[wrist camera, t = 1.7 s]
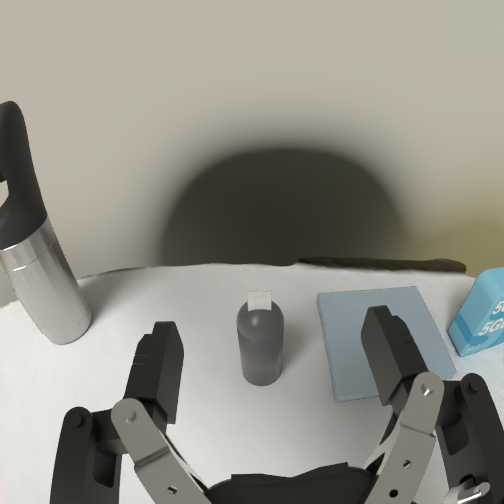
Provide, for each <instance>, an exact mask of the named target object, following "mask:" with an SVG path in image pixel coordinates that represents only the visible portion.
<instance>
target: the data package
mask: <svg viewBox="0 0 504 504" xmlns="http://www.w3.org/2000/svg"><path fill="white" fill-rule="evenodd" d="M448 333H449V335H450V337H451V339H452V341H453V343H454V345H455V347H456V349H457V351H458V353H459V355H460V356H461V357H464V356H467V355H470V354H473V353H476V352H479V351H481V350H484V349H487V348H489V347H492V346H494V345H497V344H499V343H502V342H503V341H504V267H500V268H494V269H487V270H485V271H483V272H482V273H481V274H480V275H479V276H478V277H477V279H476V280H475V282H474V284H473V286H472V288H471V290H470V292H469V294H468V296H467V298H466V300H465V302H464V304H463V305H462V307H461V309H460V311H459V312H458V314H457V316H456V318H455V319H454V321H453V323H452V324H451V326H450V328H449V330H448Z"/></svg>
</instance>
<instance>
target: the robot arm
mask: <svg viewBox="0 0 504 504" xmlns="http://www.w3.org/2000/svg"><path fill="white" fill-rule="evenodd" d="M5 180H7V185H8V191H9V195H8V197H7V199H6V201H5V202H4V204H3V205H2V206H1V207H0V263H1V265H2V267H3V269H4V270H5V272H6V274H7V276H8V278H9V280H10V281H11V283H12V285H13V287H14V292H15V294H16V296H17V297H18V299H19V300H20V302H21V304H22V305H23V307H24V308H25V310H26V311H27V313H28V314H29V316H30V317H31V319H32V320H33V321H34V323H35V324H36V326H37V327H38V329H39V330H40V331H41V333H42V334H45V335H46V337H47V338H48V339H49V340H50V341H51V342H53V343H55V344H67V343H70V342H72V341H74V340H76V339H78V338H79V337H80V336H81V335H82V334H84V332H85V331H86V330H87V329H88V327H89V325H90V323H91V320H92V310H91V308H90V306H89V304H88V303H87V301H86V299H85V297H84V295H83V293H82V291H81V289H80V287H79V285H78V283H77V281H76V279H75V277H74V275H73V273H72V271H71V269H70V267H69V265H68V262H67V260H66V258H65V256H64V254H63V251H62V249H61V247H60V244H59V242H58V240H57V237H56V235H55V233H54V230H53V227H52V225H51V222H50V220H49V217H48V214H47V211H46V209H45V206H44V203H43V200H42V196H41V192H40V188H39V185H38V182H37V178H36V175H35V171H34V167H33V162H32V158H31V152H30V147H29V141H28V136H27V130H26V125H25V121H24V117H23V115H22V112H21V110H20V108H19V106H18V105H17V104H16V103H15V102H13V101H8V102H4V103H2V104H0V183H1V182H3V181H5ZM361 342H362V346H363V349H364V351H365V354H366V357H367V360H368V363H369V366H370V368H371V371H372V374H373V377H374V380H375V383H376V386H377V390H378V393H379V396H380V399H381V402H382V405H383V406H386V405H389V404H391V405H392V408H393V410H392V412H391V414H390V416H389V419H388V421H387V424H386V426H385V428H384V430H383V433H382V435H381V437H380V439H379V441H378V443H377V446H376V447H375V449H374V451H373V452H372V453H371V455H370V456H369V458H368V460H367V461H366V463H365V465H364V467H363V469H361V468H358V467H348V462H344V463H340V464H334V465H329V466H323V467H319V468H316V469H314V470H311V471H309V472H306V473H303V474H301V475H298V476H295V477H280V476H273V475H267V474H231V479H228V480H225V481H222V482H219V483H217V484H215V485H213V486H212V487H210V488H208V486H207V485H206V484H205V483H204V482H203V480H202V479H201V478H200V477H199V476H198V474H197V473H196V472H195V471H194V470H193V469H192V468H191V467H190V465H189V464H188V463H187V461H186V460H185V459H184V457H183V456H182V455H181V453H180V452H179V451H178V449H177V448H176V446H175V445H174V444H173V442H172V441H171V439H170V438H169V436H168V435H167V434H166V428H167V424H175V421H176V412H177V404H178V396H179V388H180V380H181V373H182V366H183V359H184V349H183V344H182V341H181V338H180V335H179V333H178V330H177V327H176V324H175V322H174V321H165V322H156V323H155V325H154V328H153V332H152V334H145V335H144V336H143V338H142V339H141V340H140V341H139V343H138V345H137V348H136V352H135V356H134V359H133V365H132V367H131V371H130V374H129V378H128V382H127V386H126V390H125V394H124V397H123V399H122V400H120V401H119V402H117V403H116V404H115V405H114V407H113V408H112V409H109V410H104V411H98V412H92V413H90V412H89V411H88V410H87V409H86V408H83V407H74V408H72V409H70V410H69V411H68V412H67V413H66V415H65V417H64V420H63V424H62V429H61V433H60V438H59V443H58V448H57V454H56V459H55V465H54V471H53V478H52V486H51V494H50V504H119V487H120V473H121V462H122V454H128V453H129V455H130V457H131V458H132V460H133V462H134V464H135V466H134V470H135V472H136V474H137V476H138V478H139V479H140V481H141V483H142V484H143V486H144V487H145V489H146V490H147V492H148V493H149V495H150V496H151V498H152V499H153V501H154V502H155V504H417V503H415V502H414V501H412V500H413V498H414V496H415V494H416V491H417V489H418V487H419V485H420V482H421V480H422V477H423V475H424V472H425V470H426V467H427V465H428V462H429V459H430V457H431V454H432V451H433V448H434V445H435V441H436V437H435V436H434V435H433V431H434V427H435V430H436V433H437V437H438V441H439V445H440V449H441V453H442V457H443V461H444V466H445V470H446V475H447V480H448V485H449V491H448V492H447V494H446V495H445V498H444V500H443V502H442V504H504V430H503V427H502V424H501V421H500V418H499V416H498V413H497V410H496V407H495V405H494V402H493V400H492V397H491V395H490V392H489V390H488V387H487V385H486V383H485V381H484V379H483V378H482V377H481V376H480V375H478V374H475V373H469V374H467V375H465V376H464V377H463V378H462V380H461V381H445V380H442V379H441V378H440V377H439V376H438V375H436V374H435V373H432V372H430V371H429V370H428V368H427V366H426V364H425V361H424V359H423V357H422V355H421V353H420V351H419V349H418V347H417V345H416V343H415V342H414V339H413V337H412V335H411V334H410V331H409V329H408V327H407V325H406V323H405V322H404V321H403V320H402V319H401V318H400V317H399V316H398V315H395V316H392V314H391V312H390V310H389V308H388V307H387V306H386V305H380V306H373V307H369V308H368V309H367V313H366V316H365V319H364V323H363V326H362V329H361Z"/></svg>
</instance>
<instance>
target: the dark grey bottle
mask: <svg viewBox="0 0 504 504" xmlns="http://www.w3.org/2000/svg"><path fill="white" fill-rule="evenodd" d="M236 321H237V331H238V339H239V346H240V354H241V361H242V368H243V374H244V377H245V378H246V380H247V381H248V382H250V383H251V384H254V385H257V386H266V385H270V384H272V383H274V382H275V381H276V380H277V379H278V378H279V376H280V373H281V361H282V346H283V330H284V317H283V313H282V311H281V309H280V308H279V307H278V305H277V304H275V303H274V302H273V301H271V291H265V292H247V302H246V303H245V304H244V305H243V306H242V307H241V309H240V310H239V312H238V315H237V320H236Z"/></svg>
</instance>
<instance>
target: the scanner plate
mask: <svg viewBox="0 0 504 504" xmlns="http://www.w3.org/2000/svg"><path fill="white" fill-rule="evenodd" d="M317 305H318V310H319V315H320V320H321V325H322V330H323V335H324V340H325V345H326V350H327V356H328V361H329V366H330V372H331V378H332V384H333V390H334V396H335V402H343V401H350V400H357V399H363V398H369V397H375V396H379V393H378V390H377V386H376V383H375V380H374V377H373V374H372V371H371V368H370V366H369V363H368V360H367V357H366V354H365V351H364V349H363V346H362V342H361V329H362V326H363V323H364V319H365V316H366V313H367V309H368V308H369V307H373V306H380V305H386V306H387V307H388V308H389V310H390V312H391V314H392V316H395V315H398V316H399V317H400V318H401V319H402V320H403V321H404V322H405V323H406V325H407V327H408V329H409V331H410V334H411V335H412V337H413V339H414V342H415V343H416V345H417V347H418V349H419V351H420V353H421V355H422V357H423V359H424V361H425V364H426V366H427V368H428V370H429V371H430V372H432V373H435V374H436V375H438V376H439V377H440V378H441V379H442V380H447V379H450V378H452V377H453V376H454V375H455V373H456V369H455V367H454V364H453V362H452V360H451V357H450V355H449V353H448V350H447V348H446V346H445V344H444V341H443V339H442V337H441V335H440V333H439V331H438V329H437V327H436V324H435V322H434V320H433V318H432V316H431V314H430V312H429V310H428V308H427V306H426V305H425V303H424V301H423V299H422V297H421V295H420V293H419V291H418V289H417V288H416V286H411V287H400V288H388V289H376V290H362V291H347V292H330V293H318V294H317Z"/></svg>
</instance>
